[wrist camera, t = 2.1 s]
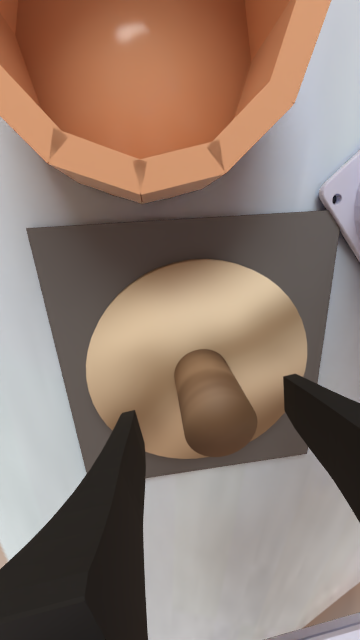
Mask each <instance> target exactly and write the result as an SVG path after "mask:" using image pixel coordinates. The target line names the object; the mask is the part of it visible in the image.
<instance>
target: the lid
mask: <svg viewBox="0 0 360 640" xmlns="http://www.w3.org/2000/svg"><path fill="white" fill-rule="evenodd" d="M306 363H307V339H306V332H305V329H304V325H303V322H302V319H301V317H300V315H299V313H298V311H297V309H296V307H295V306H294V304H293V303H292V301H291V300H290V298H289V297H288V296H287V295H286V294H285V293H284V292H283V291H282V289H281V288H280V287H279V286H277V285H276V284H275V283H273V282H272V281H271V280H270V279H268V278H267V277H265V276H263V275H261V274H260V273H258V272H256V271H254V270H252V269H249V268H247V267H244V266H241V265H239V264H236V263H232V262H227V261H223V260H215V259H191V260H185V261H179V262H174V263H171V264H168V265H165V266H162V267H159V268H157V269H154V270H152V271H150V272H148V273H146V274H144V275H143V276H141V277H140V278H138V279H137V280H135V281H134V282H132V283H131V284H129V285H128V286H127V287H126V288H125V289H124V290H122V291H121V292H120V293H119V294H118V295H117V296H116V297H115V299H114V300H113V301H112V302H111V303H110V304H109V306H108V307H107V309H106V310H105V312H104V313H103V315H102V316H101V318H100V320H99V322H98V324H97V326H96V328H95V330H94V333H93V335H92V337H91V341H90V344H89V348H88V352H87V360H86V379H87V385H88V390H89V393H90V396H91V399H92V402H93V404H94V406H95V408H96V410H97V412H98V414H99V415H100V417H101V418H102V419H103V421H104V422H105V423H106V425H107V426H108V427H109V428H110V429H111V430H112V431H113V429H114V427H115V425H116V423H117V421H118V419H119V417H120V415H121V414H122V413H123V412H128V411H132V410H135V412H136V415H137V418H138V422H139V425H140V429H141V432H142V436H143V439H144V443H145V452H148V453H151V454H155V455H158V456H163V457H168V458H178V459H197V458H205V457H222V456H227V455H230V454H233V453H235V452H237V451H239V450H241V449H242V448H243V447H245V446H246V445H247V444H248V443H249V442H250V441H252V440H254V439H256V438H257V437H258V436H260V435H261V434H263V433H264V432H265V431H267V430H268V429H269V428H270V427H271V426H272V425H273V424H275V423H276V422H277V420H278V419H279V418H280V417H281V416H282V415H283V414H284V413H285V411H284V386H283V376H287V375H291V374H297V375H300V376H302V377H304V373H305V369H306Z"/></svg>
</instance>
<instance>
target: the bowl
mask: <svg viewBox="0 0 360 640" xmlns="http://www.w3.org/2000/svg"><path fill="white" fill-rule="evenodd" d="M330 2H331V0H0V116H1V117H2V118H3V119H4V120H5V121H6V122H7V123H8V124H9V125H10V126H11V127H12V128H13V129H14V130H15V131H16V132H17V133H18V134H19V135H20V136H21V137H22V138H23V139H24V140H25V141H26V142H27V143H28V144H29V145H30V146H31V147H32V148H33V149H34V150H35V151H36V152H37V153H38V154H39V155H40V156H41V157H42V158H43V159H44V161H45V162H46V163H48V164H49V165H51V166H52V167H54V168H56V169H57V170H59V171H60V172H62V173H64V174H65V175H67V176H68V177H70V178H71V179H73V180H75V181H76V182H78V183H80V184H83V185H86V186H89V187H92V188H95V189H98V190H101V191H103V192H106V193H108V194H111V195H114V196H118V197H122V198H125V199H129V200H132V201H135V202H138V203H141V204H142V202H143V204H145V203H149V202H153V201H157V200H162V199H168V198H172V197H175V196H178V195H182V194H185V193H189V192H193V191H197V190H201V189H203V188H205V187H206V186H208V185H209V184H211V183H212V182H214V181H215V180H217V179H218V178H220V177H221V176H223V175H224V174H226V173H227V172H228V171H229V170H230V169H231V168H232V167H233V166H234V165H235V164H236V163H237V162H238V161H239V160H240V158H241V157H242V156H243V155H244V154H245V153H246V152H247V151H248V150H249V149H250V148H251V147H252V146H253V145H254V144H255V143H256V142H257V141H258V140H259V139H260V138H261V137H262V136H263V135H264V134H265V133H266V132H267V131H268V130H269V129H270V128H271V127H272V126H273V125H274V124H275V123H276V122H277V121H278V120H279V119H280V118H281V117H282V116H283V115H284V114H285V113H286V112H287V111H288V110H289V109H290V108H291V107H292V106H293V104H294V103H295V100H296V97H297V94H298V92H299V89H300V86H301V83H302V81H303V78H304V75H305V72H306V69H307V67H308V64H309V61H310V58H311V55H312V53H313V50H314V47H315V44H316V41H317V39H318V36H319V33H320V30H321V27H322V25H323V22H324V19H325V16H326V13H327V11H328V8H329V5H330Z"/></svg>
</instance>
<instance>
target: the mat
mask: <svg viewBox="0 0 360 640" xmlns="http://www.w3.org/2000/svg"><path fill="white" fill-rule="evenodd" d="M26 230H27V234H28V238H29V242H30V246H31V250H32V254H33V258H34V262H35V266H36V270H37V274H38V278H39V282H40V286H41V290H42V294H43V298H44V303H45V307H46V311H47V315H48V319H49V323H50V327H51V331H52V335H53V339H54V343H55V347H56V351H57V355H58V359H59V363H60V367H61V371H62V375H63V379H64V383H65V387H66V392H67V396H68V400H69V404H70V408H71V412H72V416H73V420H74V424H75V428H76V432H77V436H78V440H79V444H80V448H81V452H82V456H83V460H84V464H85V468H86V472H87V473H88V472H89V470H90V469H91V467H92V465H93V464H94V462H95V461H96V459H97V457H98V456H99V454H100V453H101V451H102V449H103V447H104V446H105V444H106V442H107V440H108V438H109V437H110V435H111V433H112V430H111V429H110V428H109V427H108V426H107V425H106V423H105V422H104V421H103V419H102V418H101V417H100V415H99V414H98V412H97V410H96V408H95V406H94V404H93V402H92V399H91V396H90V393H89V390H88V385H87V379H86V360H87V352H88V348H89V344H90V341H91V337H92V335H93V333H94V330H95V328H96V326H97V324H98V322H99V320H100V318H101V316H102V315H103V313H104V312H105V310H106V309H107V307H108V306H109V304H110V303H111V302H112V301H113V300H114V299H115V297H116V296H117V295H118V294H119V293H120V292H121V291H122V290H124V289H125V288H126V287H127V286H128V285H129V284H131V283H132V282H134V281H135V280H137V279H138V278H140V277H141V276H143V275H144V274H146V273H148V272H150V271H152V270H154V269H157V268H159V267H162V266H165V265H168V264H171V263H174V262H179V261H185V260H191V259H215V260H223V261H227V262H232V263H236V264H239V265H241V266H244V267H247V268H249V269H252V270H254V271H256V272H258V273H260V274H261V275H263V276H265V277H267V278H268V279H270V280H271V281H272V282H273V283H275V284H276V285H277V286H279V287H280V288H281V289H282V291H283V292H284V293H285V294H286V295H287V296H288V297H289V298H290V300H291V301H292V303H293V304H294V306H295V307H296V309H297V311H298V313H299V315H300V317H301V319H302V322H303V325H304V329H305V332H306V339H307V363H306V369H305V373H304V378H306V379H308V380H310V381H312V382H314V383H316V384H317V382H318V375H319V368H320V361H321V354H322V348H323V341H324V334H325V327H326V320H327V313H328V306H329V300H330V293H331V286H332V279H333V272H334V265H335V258H336V252H337V245H338V238H339V231H340V227H339V226H338V224H337V222H336V221H335V219H334V218H333V216H332V214H331V213H330V211H329V210H325V211H308V212H291V213H275V214H258V215H241V216H225V217H208V218H191V219H174V220H158V221H141V222H124V223H108V224H91V225H74V226H58V227H41V228H26ZM307 450H308V446H307V444H306V443H305V442H304V440H303V439H302V438H301V436H300V435H299V434H298V432H297V431H296V430H295V428H294V426H293V425H292V423H291V421H290V420H289V418H288V416H287V414H286V412H285V413H284V414H283V415H282V416H281V417H280V418H279V419H278V420H277V422H276V423H275V424H273V425H272V426H271V427H270V428H269V429H268V430H267V431H265V432H264V433H263V434H261V435H260V436H258V437H257V438H256V439H254V440H252V441H250V442H249V443H248V444H247V445H246V446H245V447H243V448H242V449H241V450H239V451H237V452H235V453H233V454H230V455H227V456H222V457H205V458H197V459H178V458H168V457H163V456H158V455H155V454H151V453H148V452H145V456H146V476H145V478H149V477H156V476H162V475H169V474H175V473H182V472H189V471H195V470H202V469H208V468H215V467H222V466H228V465H235V464H242V463H248V462H255V461H261V460H268V459H275V458H281V457H288V456H295V455H301V454H307Z"/></svg>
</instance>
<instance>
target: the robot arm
mask: <svg viewBox="0 0 360 640" xmlns="http://www.w3.org/2000/svg"><path fill="white" fill-rule="evenodd" d="M334 195H335V196H336V198H337V200H336V203H335V204H333V202H332V199H333V196H334ZM319 198H320V200H321V202H322V203H323V205H324V206H325V208H326V209H327V210H329V211H330V213H331V214H332V216H333V218H334V219H335V221H336V222H337V224H338V226H339V227H340V232H341V233H342V235H343V237H344V238H345V240H346V241H347V243H348V244H349V246H350V248H351V249H352V251H353V252H354V254H355V256H356V257H357V259H358V260H359V262H360V150H359V151H358V152H357V153H356V154H355V155H354V156H353V157H351V158H350V159H349V160H348V161H347V162H346V163H345V164H344V165H343V166H342V167H341V168H340V169H339V170H338V171H336V172H335V173H334V174H333V175H332V176H331V177H330V178H329V179H328V180H327V181H326V182H325V183H324V184H323V185H322V186H321V187H320V190H319ZM283 386H284V411H285V412H286V414H287V416H288V418H289V420H290V421H291V423H292V425H293V426H294V428H295V430H296V431H297V432H298V434H299V435H300V436H301V438H302V439H303V440H304V442H305V443H306V444H307V446H308V447H309V448H310V450H311V451H312V452H313V454H314V455H315V456H316V457H317V459H318V460H319V461H320V463H321V464H322V465H323V467H324V468H325V469H326V471H327V472H328V473H329V475H330V476H331V477H332V479H333V480H334V482H335V483H336V485H337V486H338V488H339V489H340V491H341V493H342V494H343V496H344V497H345V499H346V501H347V502H348V504H349V505H350V507H351V509H352V510H353V512H354V514H355V515H356V517H357V519H358V520H359V522H360V403H358V402H355V401H353V400H351V399H348V398H346V397H344V396H342V395H339V394H337V393H335V392H333V391H331V390H329V389H327V388H324V387H322V386H320V385H318V384H316V383H314V382H312V381H310V380H308V379H306V378H304V377H302V376H300V375H297V374H291V375H287V376H283ZM145 476H146V456H145V443H144V439H143V436H142V432H141V429H140V425H139V422H138V418H137V415H136V412H135V410H132V411H128V412H123V413H122V414H121V415H120V417H119V419H118V421H117V423H116V425H115V427H114V429H113V431H112V433H111V435H110V437H109V438H108V440H107V442H106V444H105V446H104V447H103V449H102V451H101V453H100V454H99V456H98V457H97V459H96V461H95V462H94V464H93V465H92V467H91V469H90V470H89V472H88V473H87V474H86V476H85V477H84V479H83V480H82V482H81V483H80V484H79V486H78V487H77V488H76V490H75V491H74V492H73V494H72V495H71V496H70V497H69V499H68V500H67V501H66V502H65V503H64V504H63V506H62V507H61V508H60V509H59V510H58V512H57V513H56V514H55V515H54V516H53V517H52V519H51V520H50V521H49V522H48V523H47V524H46V525H45V526H44V527H43V528H42V529H41V530H40V531H39V532H38V533H37V534H36V535H35V537H34V538H33V539H32V540H31V541H30V542H29V543H28V544H27V545H26V546H25V547H24V548H22V549H21V550H20V551H19V552H18V553H17V554H16V555H15V556H14V557H13V558H12V559H11V560H10V561H9V562H8V563H6V564H5V565H4V566H3V567H2V568H1V569H0V640H148V634H147V616H146V597H145V575H144V548H143V513H144V495H145ZM264 640H360V612H359V613H355V614H352V615H348V616H345V617H341V618H338V619H335V620H331V621H327V622H324V623H320V624H317V625H313V626H310V627H306V628H303V629H299V630H296V631H292V632H289V633H285V634H282V635H278V636H275V637H271V638H268V639H264Z"/></svg>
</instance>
